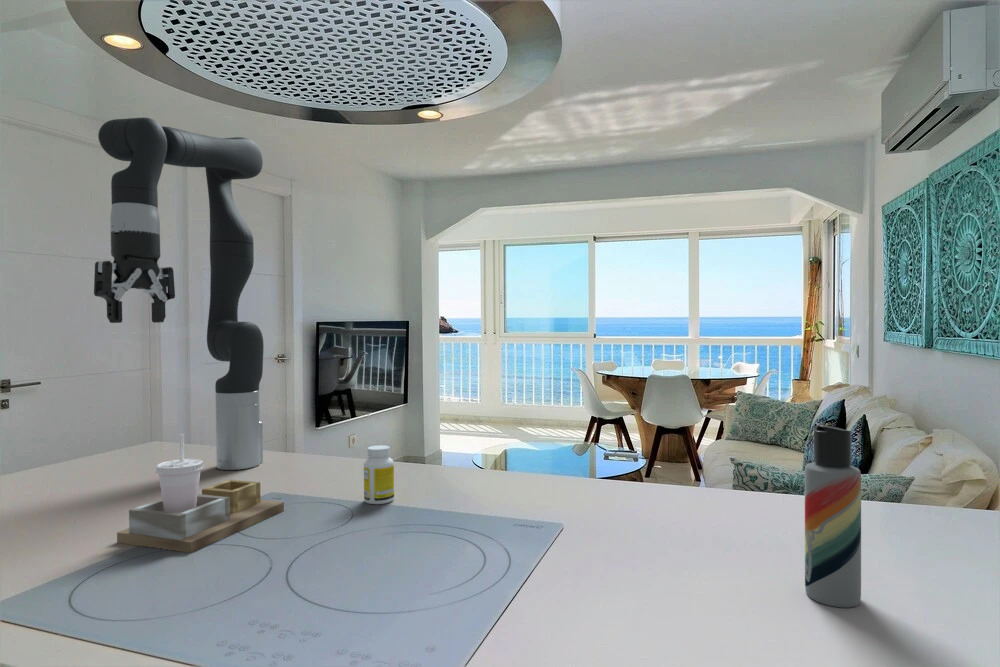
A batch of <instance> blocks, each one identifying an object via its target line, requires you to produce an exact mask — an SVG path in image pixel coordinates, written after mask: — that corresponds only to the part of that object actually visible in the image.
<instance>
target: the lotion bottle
mask: <svg viewBox="0 0 1000 667" xmlns="http://www.w3.org/2000/svg"><path fill="white" fill-rule="evenodd" d="M861 474H862V473H861V470H860V469H859V468H858V467H855V466H853V465H852V431H851V430H847V429H844V428H841V427H836V426H832V425H828V424H827V425H826V424H824V425H823V424H817V425H816V426H815V427H814V428H813V462H809V463H806V464H805V466H804V586H805V587H804V589H805V593H806V595H807V597H809V598H811V599H812V600H814V601H815V602H818V603H820V604H823V605H826V606H830V607H837V608H853V607H856V606H859V605H860V603H861V600H862V475H861Z"/></svg>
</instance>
